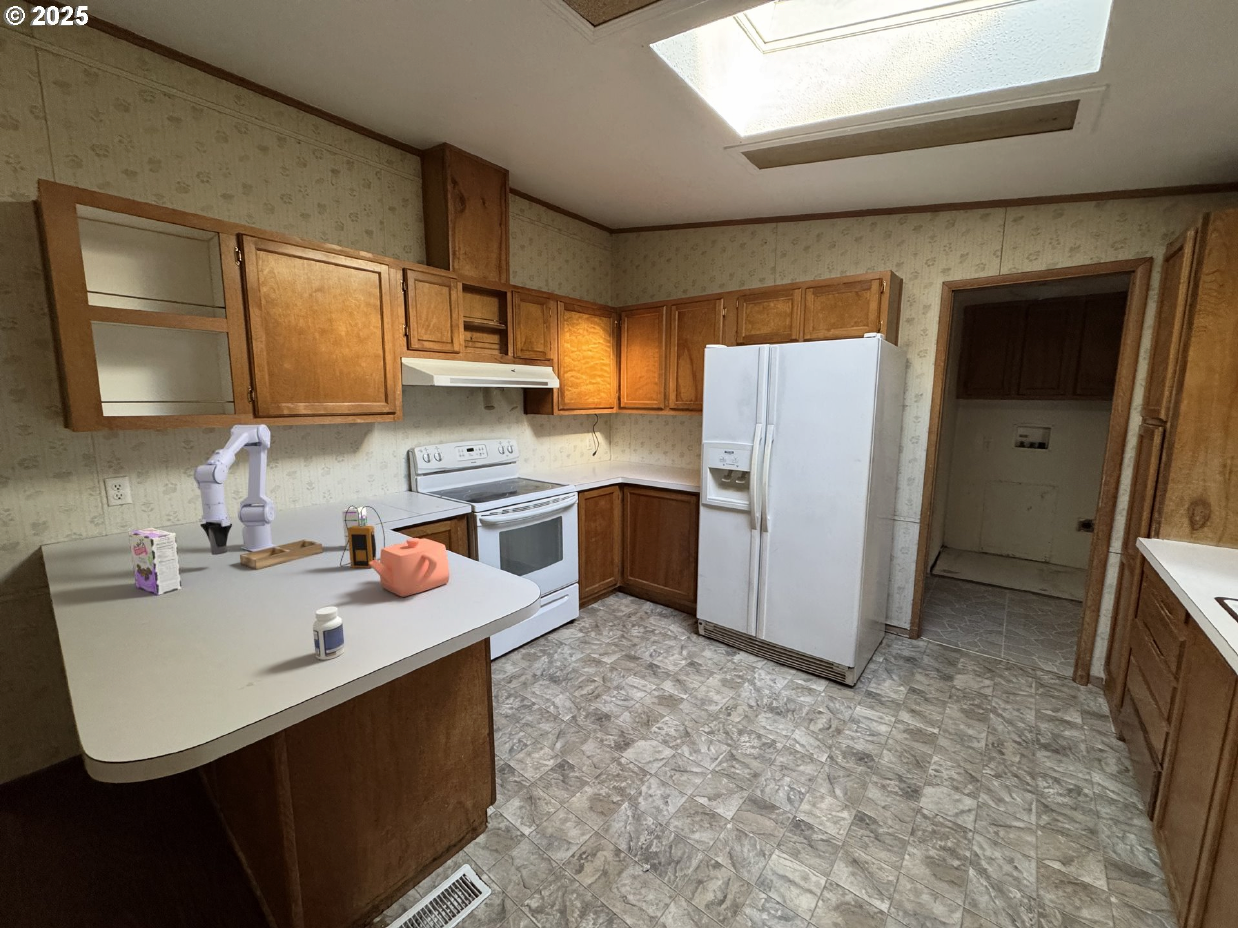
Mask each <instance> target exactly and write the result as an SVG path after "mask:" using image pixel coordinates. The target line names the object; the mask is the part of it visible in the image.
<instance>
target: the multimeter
mask: <svg viewBox="0 0 1238 928" xmlns="http://www.w3.org/2000/svg"><path fill="white" fill-rule="evenodd" d="M350 507H355V508H356V505H349V507H348V508H347V509H348V510H349V508H350ZM362 507H363V508H365V507H366V508H371V509H372V510H373V511H374V512H375V513H376V515H377V517H378V519H379V522H380V525H381V528H382V532H383V533H382V534H383V548H385V547H386V541H385V540H386V538H385V531H384V526H383V522H382V520H381V518H380V515H379V514H378V512H377V510H375V508H374V507H372V506H370V505H369V506H368V505H367V506H365V505H364V506H362ZM363 508H362V509H363ZM356 509H357V508H356ZM348 510H347V512H348ZM357 511H358V509H357ZM347 512H346V515H347ZM346 515H345V523H346ZM346 527H347V523H346ZM347 530H348V542H349V550H348V551H349V561H350V562H347V563H345V564H343V565H342V561H343V558H344V555H345V552H346V547H347V545H346V547H344V550H343V553H342V555H341V558H340V561H339V562H340V563H339V566H340V567H345V566H348V565H350V567H351V568H353V569H354V568H368V569H373V568H372V566H371V565H370V564H369V562H371V561H373V560H378V561H380V557H379V558H377V545H376V544H377V543H376V536H375V527H374V525H367V526H363V520H362V510H361V526H360V522H359V512H358V526H352V527H349V528H348V527H347ZM348 542H347V544H348Z"/></svg>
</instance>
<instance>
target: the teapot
mask: <svg viewBox="0 0 1238 928" xmlns="http://www.w3.org/2000/svg"><path fill="white" fill-rule="evenodd" d="M446 549H447V548H446V545H445V544H443V543H440V542H438V541H435V540H431V539H428V538H418V537H417V538H416V537H410V538H409V539H408V538H407V539H406V541H405V542H401V543H395V544H393V545H389V546H385V548H384V547H382V548H381V550H380V556H379V558H380V560H373V561H371V562H369V564H370V565H371V566H372V568H371V569H373V570H374V571H375V572H376V574H378V576H379V579H380V580H379V581H380V584H381V587H382V589H385V590H387V592H388V591H389V592H390V593H393V594H395V595H397V596H399V597H402V598H404V597H408V596H412V595H415V594H418V593H422V592H424V591H427V590H431V589H434V588H437V587H439V586H443V585H446V584H447V583H449V580H450V567H449V557H448V554H447V550H446Z"/></svg>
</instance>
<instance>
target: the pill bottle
mask: <svg viewBox="0 0 1238 928" xmlns="http://www.w3.org/2000/svg"><path fill="white" fill-rule="evenodd" d="M338 611H339V610H338V607H336V606H326V607H322V608H319V609H317V610H316V611H315V619H316V620H315V621H314V623H313V624H312V632H313V641H314V651H315V652H314V653H315V657H316V658H317V659H318V660H323V661H324V660H331V659H335V658H337V657H339V656H341V655H342V654H343V653H345V638H344V628H343V624H344V623H343V619H342V618H341V616H339V612H338Z"/></svg>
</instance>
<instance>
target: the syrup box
mask: <svg viewBox="0 0 1238 928" xmlns="http://www.w3.org/2000/svg"><path fill="white" fill-rule="evenodd" d="M349 507H350V506H349ZM349 507H348V508H349ZM355 507H356V508H357V509H358V511H357V509H356V508H355ZM355 507H353V506H351V507H350V508H349V510H348V508H345V509H342V510H341V516H342V526H343V527H342V528H343V534H344V535H343V536H344V545H345V547H346V545H347V547H346V550H347V551H349V542H348V530H347V527H348V528H349V527H352V526H358V512H359V522H360V526H361V510H362V520H363V526H368V517H367V509H366V508H367V507H365V506H357V505H355ZM363 507H365V508H363ZM362 508H363V509H362ZM347 510H348V512H347ZM346 512H347V515H346ZM345 515H346V523H347V527H346V523H345ZM347 542H348V544H347ZM345 547H344V548H345ZM346 550H345V551H346Z"/></svg>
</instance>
